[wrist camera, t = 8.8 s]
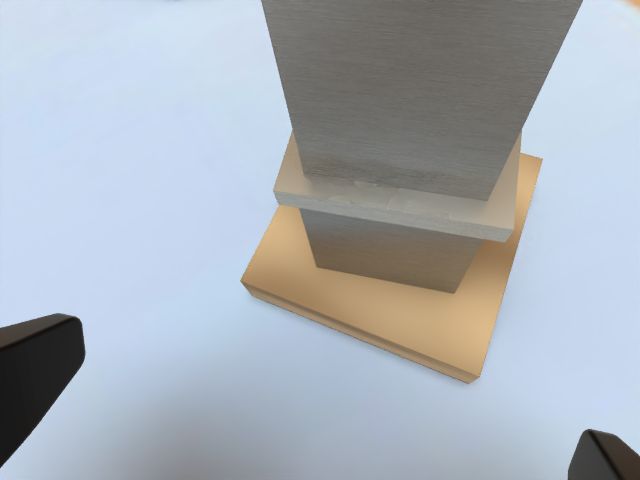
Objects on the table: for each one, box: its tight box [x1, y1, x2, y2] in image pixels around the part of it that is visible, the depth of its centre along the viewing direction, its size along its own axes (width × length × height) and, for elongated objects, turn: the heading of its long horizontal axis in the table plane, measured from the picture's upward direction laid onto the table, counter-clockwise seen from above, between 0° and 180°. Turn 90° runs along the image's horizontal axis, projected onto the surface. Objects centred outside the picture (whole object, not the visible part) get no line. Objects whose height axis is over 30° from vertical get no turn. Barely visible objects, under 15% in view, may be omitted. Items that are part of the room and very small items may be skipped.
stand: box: [240, 153, 543, 384], centre depth 20 cm, size 10×10×2 cm
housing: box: [261, 0, 583, 294], centre depth 14 cm, size 6×6×13 cm
